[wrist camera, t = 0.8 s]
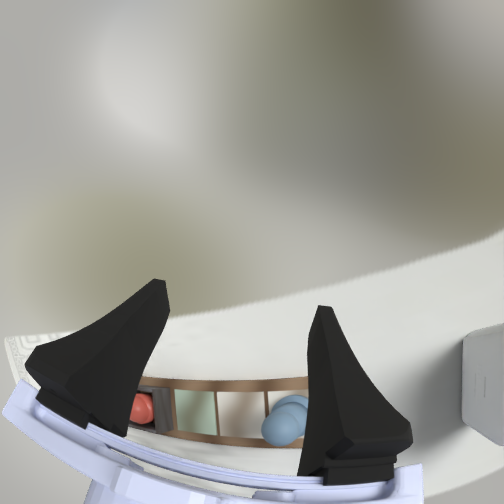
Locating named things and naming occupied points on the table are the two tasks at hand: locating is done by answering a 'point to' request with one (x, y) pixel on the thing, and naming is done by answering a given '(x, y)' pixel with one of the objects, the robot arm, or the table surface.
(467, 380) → the photo printer
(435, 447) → the table surface
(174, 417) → the game board
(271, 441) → the pawn
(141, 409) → the dome
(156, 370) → the table surface
